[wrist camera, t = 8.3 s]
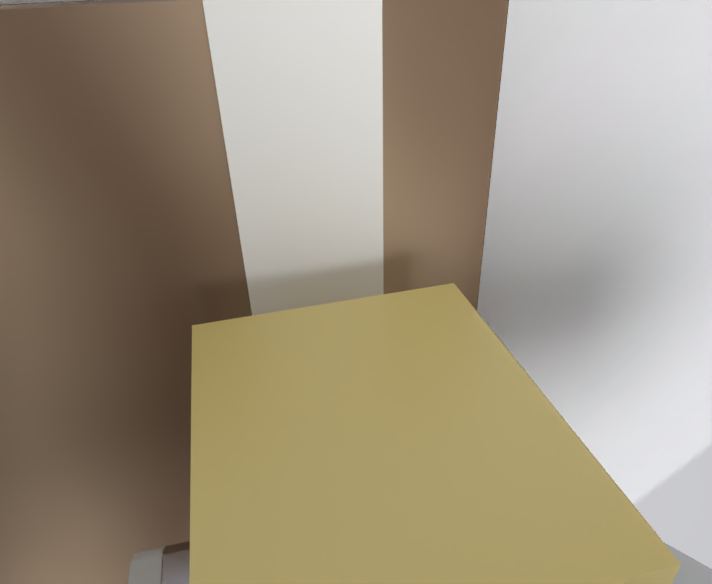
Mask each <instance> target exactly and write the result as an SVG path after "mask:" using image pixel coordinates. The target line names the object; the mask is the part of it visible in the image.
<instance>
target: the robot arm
mask: <svg viewBox="0 0 712 584" xmlns="http://www.w3.org/2000/svg"><path fill="white" fill-rule="evenodd" d="M665 545H666V546H667V547H668V548H669V550H670V551H671V552H672V553H673V555H674V556H675V557H676V558H677V559H678V561H679V562H680V563H681V566H680V568H679V570H678V572H677V574H676V576H675V578H674V580H673V583H672V584H712V569H710V568H709V567H707V566H705V565H703V564H701V563H700V562H698V561H696V560H695V559H693V558H691V557H689V556H687V555H686V554H684V553H682V552H680V551H678V550H677V549H675V548H673V547H671V546H669V545H668V544H666V543H665ZM189 576H190V541H187V542H182V543H178V544H173V545H168V546H163V547H159V548H154V549H150V550H146V551H142V552H137V553H134V555H133V558H132V561H131V564H130V572H129V581H128V584H189Z"/></svg>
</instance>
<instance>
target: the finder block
mask: <svg viewBox="0 0 712 584" xmlns="http://www.w3.org/2000/svg"><path fill="white" fill-rule="evenodd" d="M680 566H681V563H680V562H679V561H678V559H677V558H676V557H675V556H674V555H673V553H672V552H671V551H670V550H669V548H668V547H667V546H666V545H665V543H664V542H663V541H662V540H661V538H660V537H659V536H658V535H657V534H656V532H655V531H654V530H653V529H652V527H651V526H650V525H649V524H648V523H647V521H646V520H645V519H644V518H643V516H642V515H641V514H640V512H638V510H637V509H636V508H635V506H634V505H633V504H632V503H631V501H630V500H629V499H628V498H627V496H626V495H625V494H624V493H623V491H622V490H621V489H620V488H619V487H618V485H617V484H616V483H615V482H614V480H613V479H612V478H611V477H610V475H609V474H608V473H607V472H606V470H605V469H604V468H603V467H602V465H601V464H600V463H599V462H598V461H597V459H596V458H595V457H594V456H593V454H592V453H591V452H590V451H589V449H588V448H587V447H586V446H585V444H584V443H583V442H582V441H581V440H580V438H579V437H578V436H577V435H576V433H575V432H574V431H573V430H572V428H571V427H570V426H569V425H568V423H567V422H566V421H565V420H564V419H563V417H562V416H561V415H560V414H559V412H558V411H557V410H556V409H555V407H554V406H553V405H552V404H551V402H550V401H549V400H548V399H547V397H546V396H545V395H544V394H543V393H542V391H541V390H540V389H539V388H538V386H537V385H536V384H535V383H534V381H533V380H532V379H531V378H530V376H529V375H528V374H527V373H526V372H525V370H524V369H523V368H522V367H521V365H520V364H519V363H518V362H517V360H516V359H515V358H514V357H513V355H512V354H511V353H510V352H509V350H508V349H507V348H506V347H505V346H504V344H503V343H502V342H501V341H500V339H499V338H498V337H497V336H496V334H495V333H494V332H493V331H492V329H491V328H490V327H489V326H488V325H487V323H486V322H485V321H484V320H483V318H482V317H481V316H480V315H479V313H478V312H477V311H476V310H475V308H474V307H473V306H472V305H471V303H470V302H469V301H468V300H467V299H466V297H465V296H464V295H463V294H462V292H461V291H460V290H459V289H458V287H457V286H456V285H455V284H454V283H451V284H445V285H439V286H432V287H426V288H420V289H414V290H408V291H402V292H395V293H389V294H383V295H377V296H371V297H364V298H358V299H352V300H346V301H340V302H333V303H327V304H321V305H315V306H309V307H302V308H296V309H290V310H284V311H278V312H272V313H265V314H259V315H253V316H247V317H241V318H234V319H228V320H222V321H216V322H210V323H203V324H197V325H192V373H191V474H190V576H189V584H672V583H673V580H674V578H675V576H676V574H677V572H678V570H679V568H680Z"/></svg>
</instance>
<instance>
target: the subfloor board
mask: <svg viewBox="0 0 712 584" xmlns="http://www.w3.org/2000/svg"><path fill="white" fill-rule="evenodd" d="M508 4H509V0H94V1H73V2H51V3H30V4H9V5H0V584H128V581H129V572H130V564H131V561H132V558H133V555H134V553H137V552H142V551H146V550H150V549H154V548H159V547H163V546H168V545H173V544H178V543H182V542H187V541H190V474H191V373H192V325H197V324H203V323H210V322H216V321H222V320H228V319H234V318H241V317H247V316H253V315H259V314H265V313H272V312H278V311H284V310H290V309H296V308H302V307H309V306H315V305H321V304H327V303H333V302H340V301H346V300H352V299H358V298H364V297H371V296H377V295H383V294H389V293H395V292H402V291H408V290H414V289H420V288H426V287H432V286H439V285H445V284H451V283H454V284H455V285H456V286H457V287H458V289H459V290H460V291H461V292H462V294H463V295H464V296H465V297H466V299H467V300H468V301H469V302H470V303H471V305H472V306H473V307H474V308H475V310H476V311H477V303H478V293H479V283H480V274H481V264H482V254H483V245H484V235H485V226H486V216H487V206H488V197H489V187H490V178H491V168H492V158H493V149H494V139H495V129H496V120H497V110H498V101H499V91H500V81H501V72H502V62H503V52H504V43H505V33H506V24H507V14H508Z"/></svg>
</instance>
